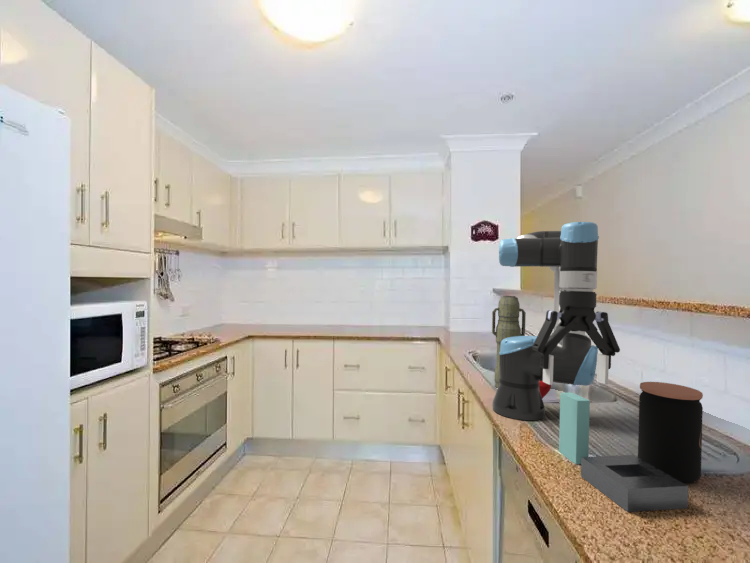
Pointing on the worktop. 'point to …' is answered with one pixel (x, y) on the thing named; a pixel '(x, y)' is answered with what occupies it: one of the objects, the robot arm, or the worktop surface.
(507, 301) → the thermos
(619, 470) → the block
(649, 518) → the worktop surface
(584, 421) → the keyed peg
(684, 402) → the coffee jar
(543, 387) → the strawberry
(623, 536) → the worktop surface
